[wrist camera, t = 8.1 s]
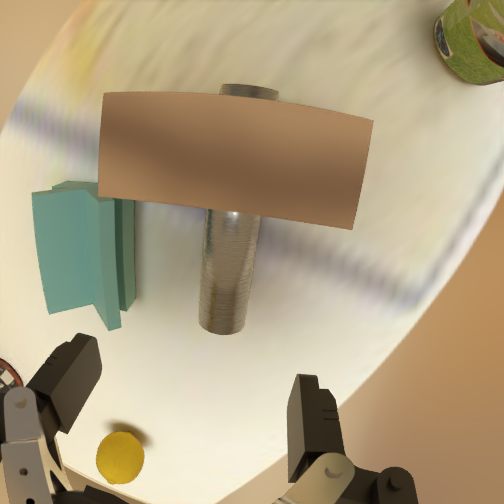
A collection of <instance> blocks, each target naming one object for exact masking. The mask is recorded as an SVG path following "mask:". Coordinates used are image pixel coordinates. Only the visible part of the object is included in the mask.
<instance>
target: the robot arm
mask: <svg viewBox="0 0 504 504" xmlns="http://www.w3.org/2000/svg"><path fill="white" fill-rule="evenodd" d="M101 372H102V363H101V358H100V353H99V348H98V343H97V339H96V338H95V337H93V336H89V335H86V334H82V333H77V334H76V335H75V337H74V338H73V339H72V340H71V342H67V341H66V342H65V343H63V344H61V345H60V346H58V347H56V349H55V350H54V351H53V352H52V354H51V355H50V357H48V359H47V360H46V361H45V364H43V365H42V366H41V367H40V369H39V370H38V371H37V372H36V374H35V375H34V376H33V378H32V379H31V380H30V381H29V383H28V384H27V385H26V386H25V387H22V386H21V387H15V388H13V389H11V390H9V391H8V392H7V393H0V462H1V460H2V462H3V469H4V476H5V482H6V487H7V493H8V498H9V503H10V504H129V503H127V502H125V501H123V500H122V499H120V498H118V497H117V496H115V495H112V494H110V493H107V492H104V491H101V490H98V489H96V488H93V487H91V486H88V485H86V488H85V490H84V491H79V490H73V489H72V487H71V485H70V483H69V481H68V479H67V476H66V473H65V470H64V466H63V463H62V459H61V455H60V451H59V447H58V443H57V439H56V437H55V435H56V433H57V432H58V430H59V431H61V432H63V433H66V434H68V433H69V431H70V429H71V427H72V425H73V423H74V422H75V420H76V418H77V416H78V415H79V413H80V411H81V409H82V407H83V406H84V404H85V402H86V401H87V399H88V397H89V395H90V394H91V392H92V390H93V388H94V387H95V385H96V383H97V382H98V380H99V378H100V376H101ZM287 438H288V483H295V484H294V485H293V486H292V487H291V488H290V489H289V490H288V491H287V492H286V493H285V494H284V495H283V496H282V497H281V498H278V499H277V500H276V501H275V502H273V503H272V504H418V499H417V494H416V489H415V484H414V480H413V477H412V476H411V474H410V473H409V472H408V471H406V470H405V469H403V468H400V467H389V468H387V469H385V470H383V471H382V472H381V473H378V472H373V471H368V470H364V469H361V468H358V467H356V466H355V465H353V463H352V462H351V461H350V459H349V458H347V457H346V454H345V451H344V446H343V439H342V433H341V428H340V422H339V416H338V412H337V405H336V400H335V398H334V397H333V395H332V394H331V392H330V391H329V389H319V384H318V378H317V376H316V375H306V374H297V375H296V378H295V381H294V384H293V388H292V391H291V394H290V397H289V401H288V406H287Z"/></svg>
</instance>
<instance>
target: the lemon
mask: <svg viewBox="0 0 504 504" xmlns="http://www.w3.org/2000/svg"><path fill="white" fill-rule="evenodd" d="M143 463H144V450H143V447H142V445H141V443H140V442H139V441H138V440H137V439H136V438H135V437H134V436H133V434H132V433H131V432H114V433H111V434H109V435H107V436H106V437H105V438H104V439H103V440H102V442H101V443H100V445H99V447H98V451H97V455H96V465H97V468H98V470H99V472H100V473H101V475H102V476H103V477H104V478H105V479H106V480H107V481H108V483H110V484H126V483H129V482H131V481H133V480H134V479H135V478H136V477H137V476H138V474H139V473H140V471H141V469H142V467H143Z"/></svg>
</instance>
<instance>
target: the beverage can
mask: <svg viewBox="0 0 504 504" xmlns="http://www.w3.org/2000/svg"><path fill="white" fill-rule="evenodd" d="M434 38H435V43H436V46H437V49H438V51H439V53H440V55H441V57H442V58H443V60H444V62H445V63H446V64H447V65H448V67H449V68H450V69H451V70H452V71H453V72H454V73H455V74H457V75H458V76H459V77H460V78H462V79H464V80H465V81H467V82H470V83H472V84H476V85H489V84H493V83H497V82H501V81H504V0H455V1H454V2H453V3H452V4H451V5H450V6H449V7H448V8H447V9H446V10H445V11H444V12H443V13H442V14H441V15H440V16H439V17H438V19H437V21H436V23H435V27H434Z"/></svg>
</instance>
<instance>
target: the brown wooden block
mask: <svg viewBox="0 0 504 504" xmlns="http://www.w3.org/2000/svg"><path fill="white" fill-rule="evenodd" d="M372 127H373V120H370V119H366V118H362V117H358V116H353V115H349V114H344V113H340V112H335V111H330V110H325V109H320V108H315V107H310V106H304V105H298V104H292V103H286V102H279V101H272V100H265V99H257V98H248V97H239V96H229V95H217V94H203V93H184V92H110V93H104V96H103V105H102V116H101V128H100V144H99V168H98V196H100V197H110V198H120V199H129V200H139V201H148V202H157V203H165V204H174V205H182V206H190V207H198V208H206V209H214V210H222V211H229V212H237V213H244V214H251V215H258V216H265V217H272V218H279V219H286V220H292V221H299V222H305V223H312V224H318V225H324V226H330V227H337V228H343V229H349V230H352V229H353V224H354V220H355V216H356V211H357V206H358V202H359V197H360V192H361V188H362V183H363V178H364V172H365V167H366V162H367V156H368V151H369V145H370V139H371V133H372Z"/></svg>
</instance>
